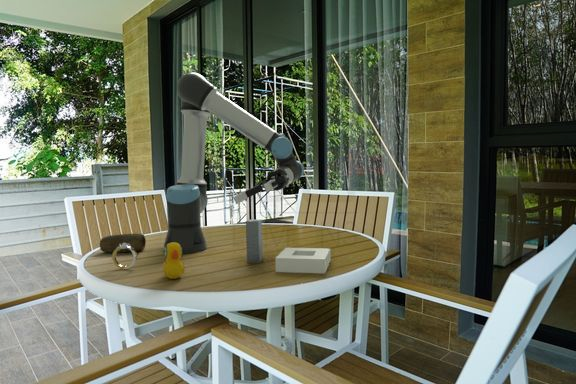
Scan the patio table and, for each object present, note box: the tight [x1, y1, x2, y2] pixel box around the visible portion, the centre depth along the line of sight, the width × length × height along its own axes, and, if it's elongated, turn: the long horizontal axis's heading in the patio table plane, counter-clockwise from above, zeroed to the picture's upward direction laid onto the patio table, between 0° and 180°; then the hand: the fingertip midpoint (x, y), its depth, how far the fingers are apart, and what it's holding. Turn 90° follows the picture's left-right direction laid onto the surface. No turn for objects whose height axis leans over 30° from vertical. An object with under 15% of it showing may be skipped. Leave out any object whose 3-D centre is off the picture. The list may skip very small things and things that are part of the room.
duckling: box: [162, 242, 185, 280], centre depth 112 cm, size 11×5×10 cm, turn 22°
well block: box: [274, 247, 331, 274], centre depth 121 cm, size 14×14×4 cm
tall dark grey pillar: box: [245, 219, 264, 264], centre depth 129 cm, size 4×4×13 cm
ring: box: [111, 243, 138, 270], centre depth 122 cm, size 7×3×8 cm, turn 83°
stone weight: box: [99, 233, 147, 253], centre depth 148 cm, size 15×7×7 cm, turn 98°
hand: (250, 194), depth 136 cm, fingers open, 13 cm apart
